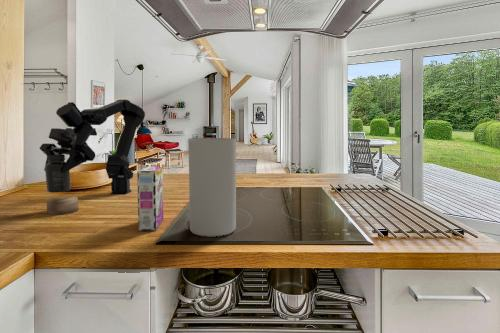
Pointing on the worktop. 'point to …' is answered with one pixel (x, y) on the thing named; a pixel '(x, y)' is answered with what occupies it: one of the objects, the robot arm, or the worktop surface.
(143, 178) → the candy bar box
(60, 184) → the supplement bottle
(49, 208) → the walnut plinth
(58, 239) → the worktop surface
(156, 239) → the worktop surface
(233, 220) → the cylinder vase
